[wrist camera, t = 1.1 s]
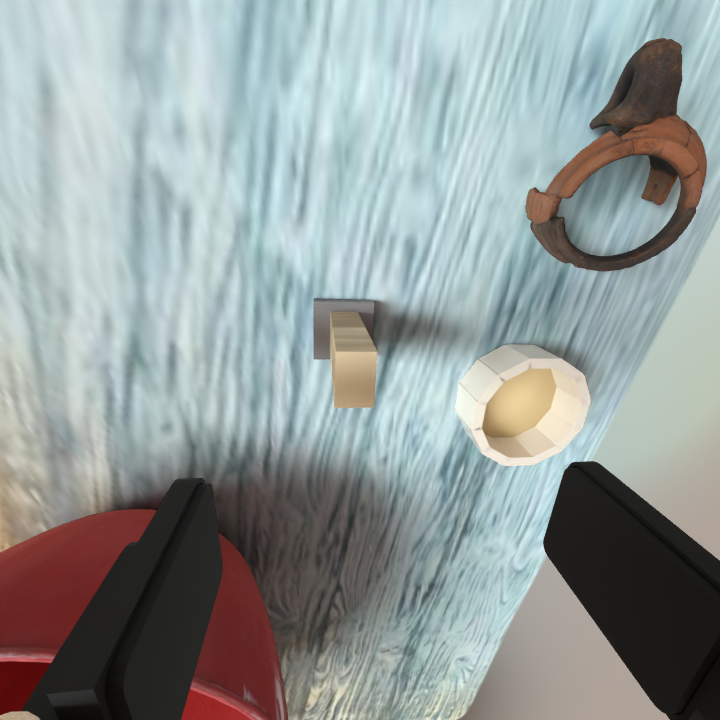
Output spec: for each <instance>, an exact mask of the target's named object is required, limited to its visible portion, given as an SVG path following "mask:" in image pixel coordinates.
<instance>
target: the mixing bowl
mask: <svg viewBox="0 0 720 720" xmlns="http://www.w3.org/2000/svg"><path fill="white" fill-rule="evenodd" d="M156 511H157V510H151V509H128V510H117V511H110V512H104V513H99V514H94V515H90V516H86V517H84V518H81V519H77V520H74V521H71V522H68V523H65V524H62V525H60V526H57V527H55V528H52V529H50V530H48V531H45V532H43V533H41V534H39V535H37V536H34V537H32V538H30V539H28V540H26V541H24V542H21V543H19V544H17V545H15V546H13V547H11V548H9V549H7V550H5V551H3V552H1V553H0V715H3V714H6V713H9V712H20V711H21V710H22V708H23V707H24V705H25V703H26V702H27V700H28V699H29V697H30V695H31V694H32V692H33V691H34V689H35V688H36V686H37V684H38V683H39V681H40V680H41V678H42V676H43V675H44V673H45V672H46V670H47V669H48V667H49V665H50V664H51V662H52V661H53V659H54V657H55V656H56V654H57V653H58V651H59V650H60V648H61V646H62V645H63V643H64V642H65V640H66V639H67V637H68V635H69V634H70V632H71V631H72V629H73V627H74V626H75V624H76V623H77V621H78V620H79V618H80V616H81V615H82V613H83V612H84V610H85V608H86V607H87V605H88V604H89V602H90V601H91V599H92V597H93V596H94V594H95V593H96V591H97V589H98V588H99V586H100V585H101V583H102V582H103V580H104V578H105V577H106V575H107V574H108V572H109V570H110V569H111V567H112V566H113V564H114V563H115V561H116V559H117V558H118V556H119V555H120V553H121V552H122V551H123V549H124V548H125V547H126V546H127V545H128V544H129V543H131V542H138V541H139V539H140V538H141V536H142V534H143V533H144V531H145V529H146V528H147V526H148V524H149V523H150V521H151V519H152V518H153V516H154V514H155V513H156ZM219 539H220V546H221V553H222V560H223V573H222V579H221V583H220V586H219V590H218V593H217V597H216V600H215V604H214V607H213V611H212V614H211V618H210V621H209V625H208V628H207V632H206V635H205V639H204V642H203V646H202V649H201V652H200V656H199V659H198V663H197V666H196V670H195V673H194V677H193V680H192V684H191V687H190V691H189V694H188V698H187V701H186V705H185V708H184V712H183V715H182V718H181V720H288V714H287V707H286V699H285V693H284V686H283V679H282V673H281V668H280V663H279V658H278V653H277V648H276V644H275V640H274V636H273V632H272V628H271V624H270V621H269V617H268V614H267V611H266V608H265V605H264V601H263V599H262V596H261V594H260V591H259V589H258V586H257V584H256V581H255V579H254V577H253V574H252V572H251V570H250V567H249V566H248V564H247V562H246V561H245V559H244V558H243V556H242V555H241V554H240V552H239V551H238V550H237V549H236V548H235V546H234V545H233V544H232V543H231V542H230V541H228V540H227V539H226V538H225V537H224V536H222V535H221V534H220V533H219Z"/></svg>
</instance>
